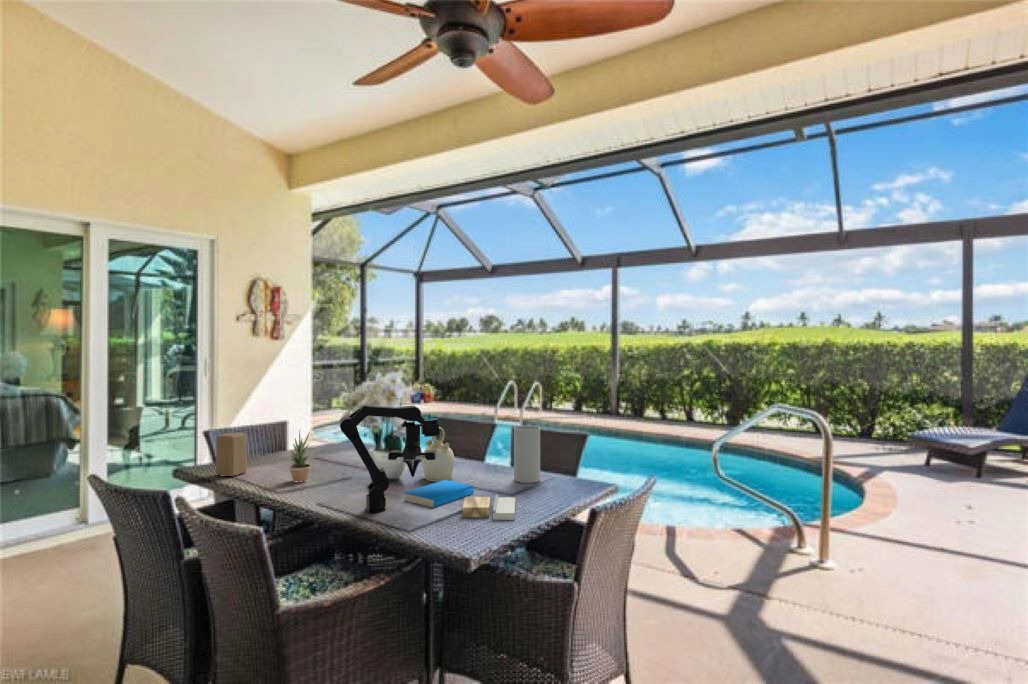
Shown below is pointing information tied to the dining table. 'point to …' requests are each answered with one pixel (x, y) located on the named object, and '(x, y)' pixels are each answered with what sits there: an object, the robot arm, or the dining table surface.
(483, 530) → the dining table surface
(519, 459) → the cylinder vase
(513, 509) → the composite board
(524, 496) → the dining table surface
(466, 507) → the oak plank
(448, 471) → the jug
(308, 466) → the potted plant
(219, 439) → the wooden block
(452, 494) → the book
